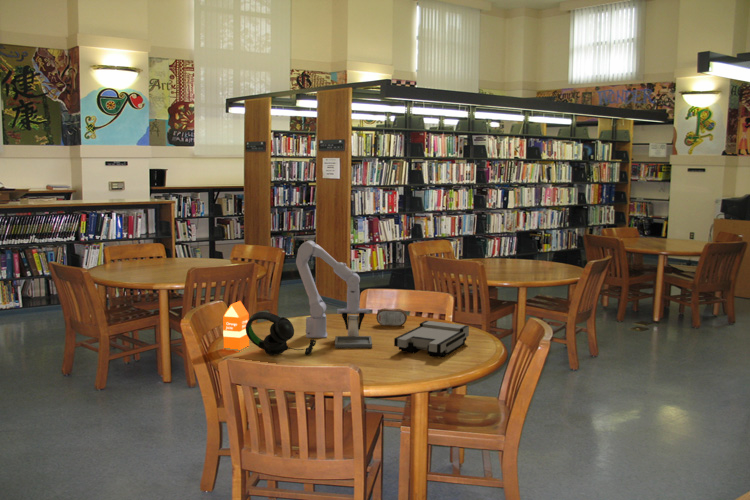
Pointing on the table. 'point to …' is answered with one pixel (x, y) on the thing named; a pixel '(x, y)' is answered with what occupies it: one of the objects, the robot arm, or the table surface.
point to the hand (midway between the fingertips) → (353, 329)
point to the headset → (274, 334)
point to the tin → (391, 317)
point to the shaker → (353, 325)
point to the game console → (433, 338)
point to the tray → (353, 342)
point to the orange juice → (235, 327)
